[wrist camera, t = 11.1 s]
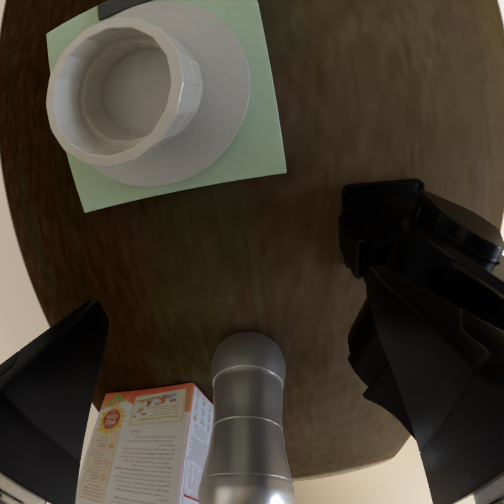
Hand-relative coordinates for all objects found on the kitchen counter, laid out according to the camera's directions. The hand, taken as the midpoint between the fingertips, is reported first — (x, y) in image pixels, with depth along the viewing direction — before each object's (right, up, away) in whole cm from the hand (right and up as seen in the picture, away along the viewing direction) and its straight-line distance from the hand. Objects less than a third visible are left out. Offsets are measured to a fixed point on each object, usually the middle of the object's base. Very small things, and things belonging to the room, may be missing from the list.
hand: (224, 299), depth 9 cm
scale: (-5, +12, +7) cm, 15 cm away
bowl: (-5, +10, +5) cm, 12 cm away
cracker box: (-11, -17, +23) cm, 31 cm away
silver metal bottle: (+1, -7, +18) cm, 19 cm away
